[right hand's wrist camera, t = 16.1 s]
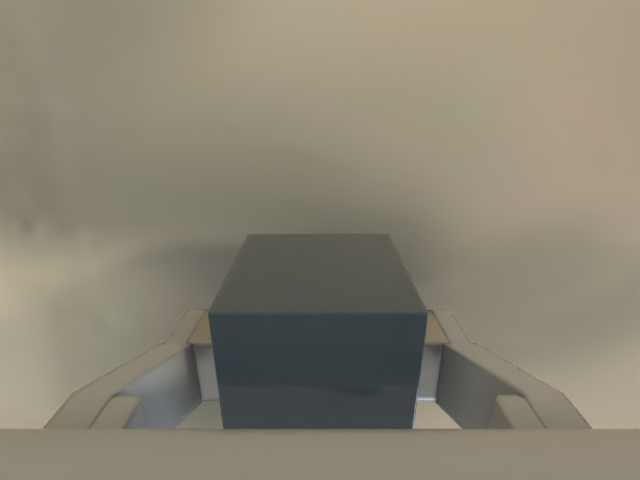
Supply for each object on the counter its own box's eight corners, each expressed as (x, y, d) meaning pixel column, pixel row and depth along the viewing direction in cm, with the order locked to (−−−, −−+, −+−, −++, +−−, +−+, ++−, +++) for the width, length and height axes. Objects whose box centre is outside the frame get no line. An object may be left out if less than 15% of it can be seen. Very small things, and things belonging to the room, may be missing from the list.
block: (257, 353, 13) (228, 473, 9) (248, 233, 11) (206, 312, 7) (379, 353, 13) (408, 473, 9) (389, 233, 11) (430, 312, 7)
